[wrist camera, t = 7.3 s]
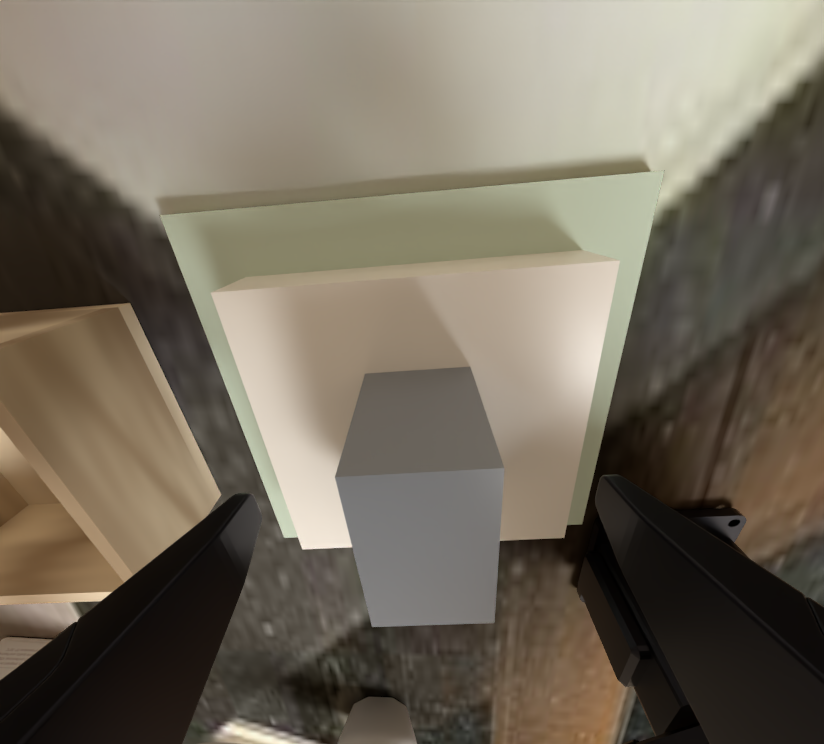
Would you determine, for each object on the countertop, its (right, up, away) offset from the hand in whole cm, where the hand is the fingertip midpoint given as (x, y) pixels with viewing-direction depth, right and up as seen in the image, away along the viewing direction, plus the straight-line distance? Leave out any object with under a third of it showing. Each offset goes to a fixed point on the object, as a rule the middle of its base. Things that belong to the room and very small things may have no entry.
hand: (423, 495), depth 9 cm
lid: (0, +2, +4) cm, 4 cm away
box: (-14, +1, +5) cm, 15 cm away
